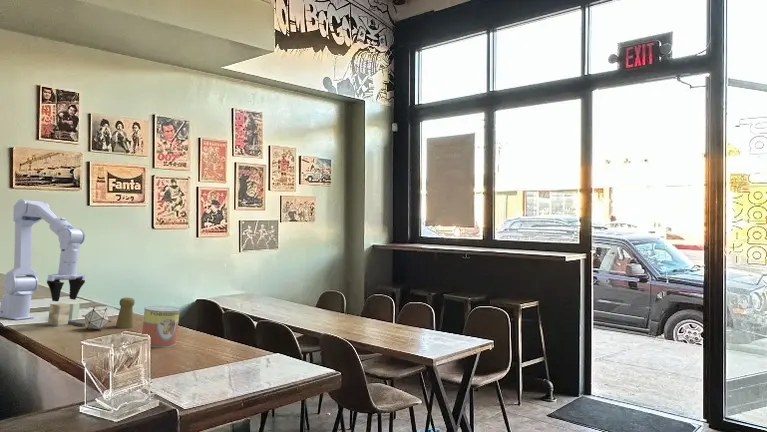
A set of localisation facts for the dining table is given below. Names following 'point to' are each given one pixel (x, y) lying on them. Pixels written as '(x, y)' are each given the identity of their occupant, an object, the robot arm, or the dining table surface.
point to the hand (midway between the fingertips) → (64, 300)
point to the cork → (125, 313)
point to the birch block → (58, 314)
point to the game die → (96, 318)
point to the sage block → (73, 310)
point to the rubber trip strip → (76, 323)
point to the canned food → (161, 325)
